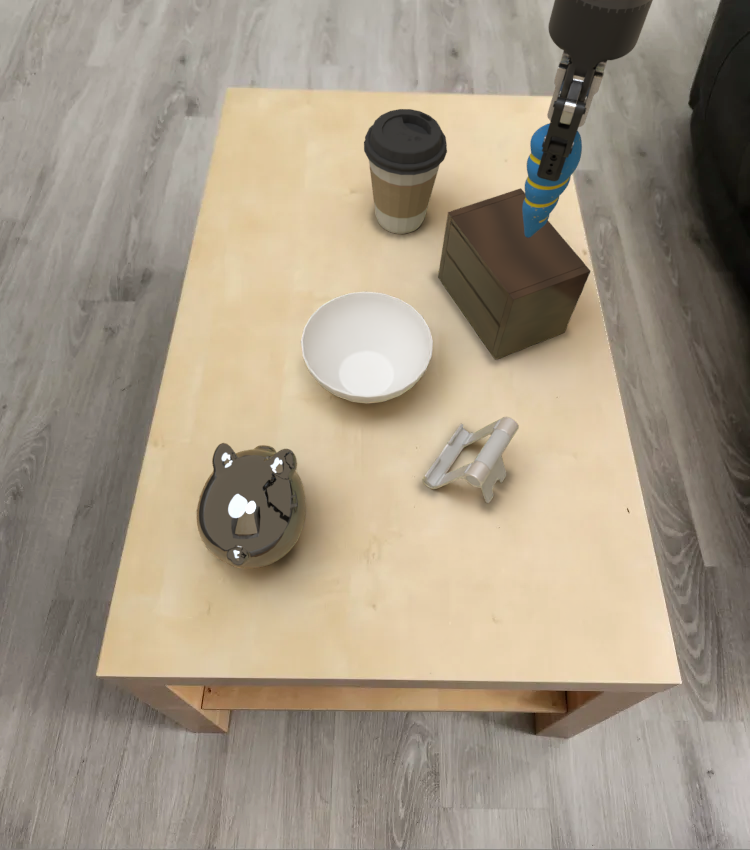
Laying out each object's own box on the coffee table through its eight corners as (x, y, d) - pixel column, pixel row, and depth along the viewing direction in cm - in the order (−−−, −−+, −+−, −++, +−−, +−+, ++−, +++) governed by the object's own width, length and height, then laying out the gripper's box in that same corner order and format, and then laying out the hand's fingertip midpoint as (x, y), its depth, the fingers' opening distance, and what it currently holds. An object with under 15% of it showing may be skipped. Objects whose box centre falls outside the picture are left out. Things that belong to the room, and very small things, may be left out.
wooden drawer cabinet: (503, 254, 100) (521, 188, 90) (564, 332, 93) (591, 270, 82) (437, 277, 97) (447, 211, 87) (495, 360, 90) (513, 299, 80)
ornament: (496, 234, 77) (527, 116, 64) (524, 212, 79) (559, 93, 66) (532, 259, 76) (571, 143, 63) (560, 236, 78) (603, 119, 65)
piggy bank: (317, 473, 81) (312, 424, 71) (298, 597, 73) (290, 562, 63) (224, 464, 81) (206, 414, 71) (196, 587, 74) (171, 550, 64)
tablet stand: (457, 431, 84) (467, 394, 77) (514, 462, 82) (529, 428, 75) (421, 483, 81) (428, 449, 73) (479, 518, 79) (492, 487, 71)
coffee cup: (452, 217, 103) (467, 130, 91) (402, 256, 99) (409, 171, 86) (397, 181, 107) (403, 92, 94) (346, 217, 103) (345, 129, 90)
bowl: (367, 451, 83) (368, 421, 77) (278, 374, 88) (273, 341, 82) (453, 374, 89) (460, 341, 83) (365, 307, 94) (366, 271, 88)
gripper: (645, 38, 50) (577, 216, 64) (666, -55, 57) (601, 124, 71) (545, 16, 51) (500, 196, 65) (578, -73, 58) (531, 108, 72)
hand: (553, 158), depth 68 cm, fingers closed on ornament, 5 cm apart
